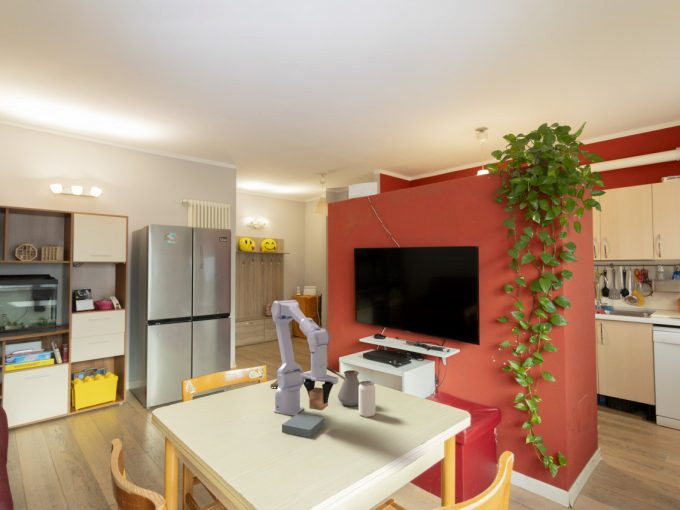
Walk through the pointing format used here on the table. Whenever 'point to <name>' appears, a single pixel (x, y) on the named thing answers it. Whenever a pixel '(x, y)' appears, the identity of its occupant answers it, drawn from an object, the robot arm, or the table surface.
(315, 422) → the base
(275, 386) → the mineral rock
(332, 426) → the table surface
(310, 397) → the block
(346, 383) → the coffee pot
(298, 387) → the robot arm
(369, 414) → the can
